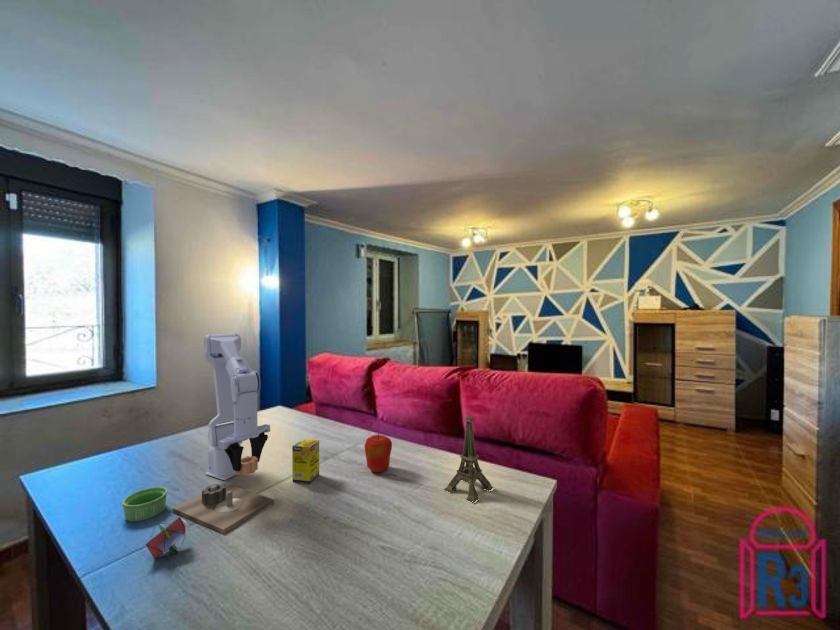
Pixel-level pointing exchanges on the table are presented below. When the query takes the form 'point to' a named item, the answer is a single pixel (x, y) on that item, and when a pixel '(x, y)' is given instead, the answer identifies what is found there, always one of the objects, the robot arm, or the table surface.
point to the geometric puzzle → (168, 537)
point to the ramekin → (145, 503)
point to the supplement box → (305, 460)
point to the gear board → (222, 507)
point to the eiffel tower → (469, 466)
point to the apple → (378, 453)
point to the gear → (248, 465)
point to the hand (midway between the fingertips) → (246, 465)
